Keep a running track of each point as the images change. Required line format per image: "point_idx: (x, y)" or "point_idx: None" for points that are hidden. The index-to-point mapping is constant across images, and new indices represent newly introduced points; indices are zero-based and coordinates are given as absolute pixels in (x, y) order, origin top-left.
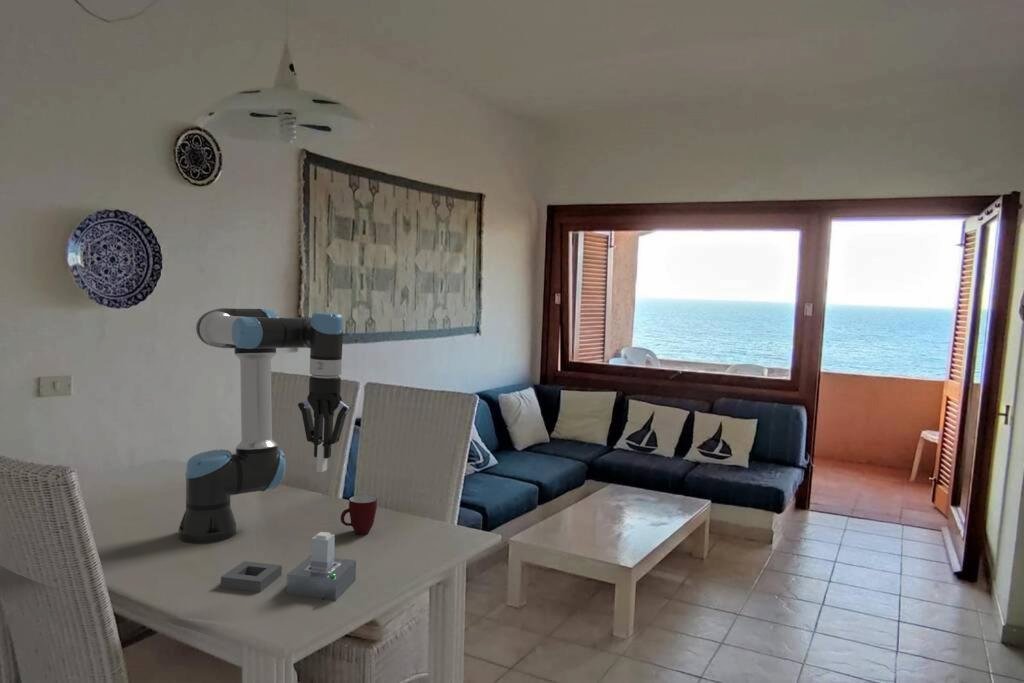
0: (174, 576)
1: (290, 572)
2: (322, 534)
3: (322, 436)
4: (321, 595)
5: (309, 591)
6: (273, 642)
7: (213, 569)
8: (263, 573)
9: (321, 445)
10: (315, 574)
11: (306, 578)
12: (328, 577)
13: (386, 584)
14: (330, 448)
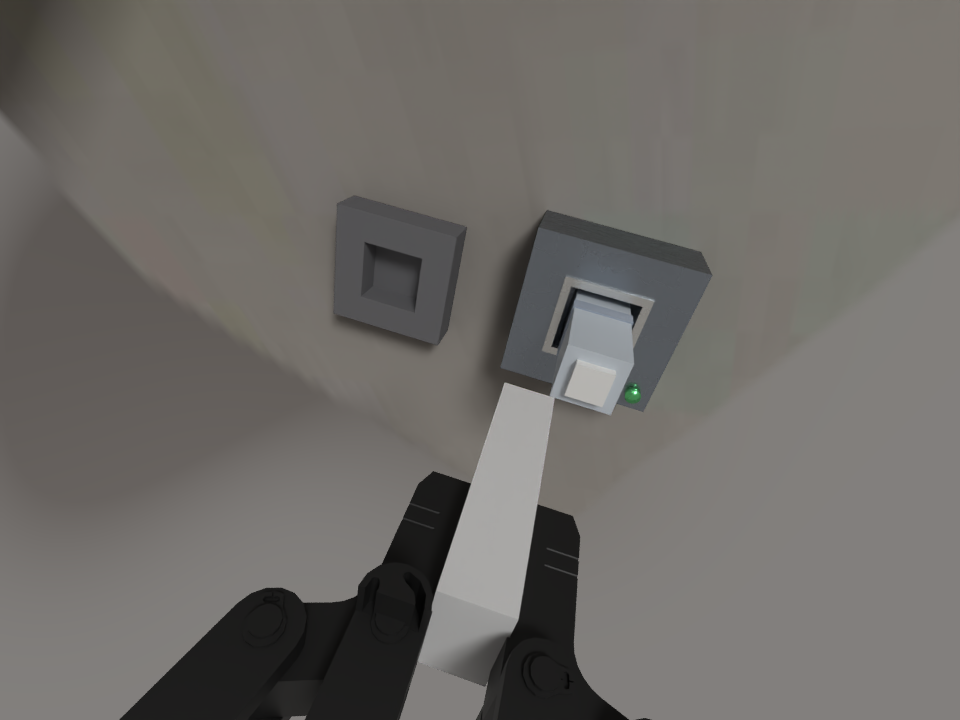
0: (208, 220)
1: (506, 357)
2: (586, 391)
3: (399, 709)
4: None
5: None
6: None
7: (266, 169)
8: (426, 296)
9: (457, 664)
10: None
11: None
12: (619, 396)
13: (807, 285)
14: (568, 626)
